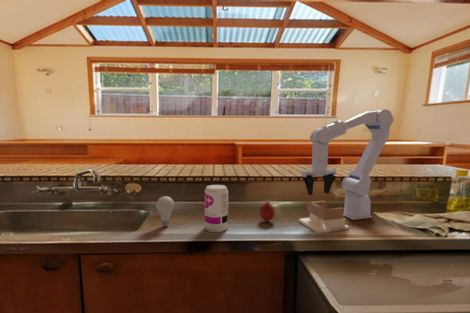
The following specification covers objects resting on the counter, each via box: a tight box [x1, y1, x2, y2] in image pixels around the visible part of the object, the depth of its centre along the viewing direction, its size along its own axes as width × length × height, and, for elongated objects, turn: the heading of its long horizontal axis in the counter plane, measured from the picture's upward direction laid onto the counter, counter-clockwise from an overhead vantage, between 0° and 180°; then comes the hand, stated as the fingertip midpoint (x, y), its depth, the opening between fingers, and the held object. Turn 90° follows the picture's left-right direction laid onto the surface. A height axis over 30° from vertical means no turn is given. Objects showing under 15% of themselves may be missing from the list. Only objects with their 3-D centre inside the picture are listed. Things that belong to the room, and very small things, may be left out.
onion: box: [259, 200, 276, 223], centre depth 97 cm, size 6×6×8 cm
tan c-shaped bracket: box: [306, 200, 345, 220], centre depth 94 cm, size 8×10×4 cm
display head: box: [298, 212, 350, 234], centre depth 94 cm, size 13×12×4 cm
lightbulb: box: [155, 195, 175, 227], centre depth 91 cm, size 6×6×11 cm
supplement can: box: [204, 184, 229, 233], centre depth 90 cm, size 8×8×15 cm
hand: (318, 193), depth 101 cm, fingers open, 7 cm apart
